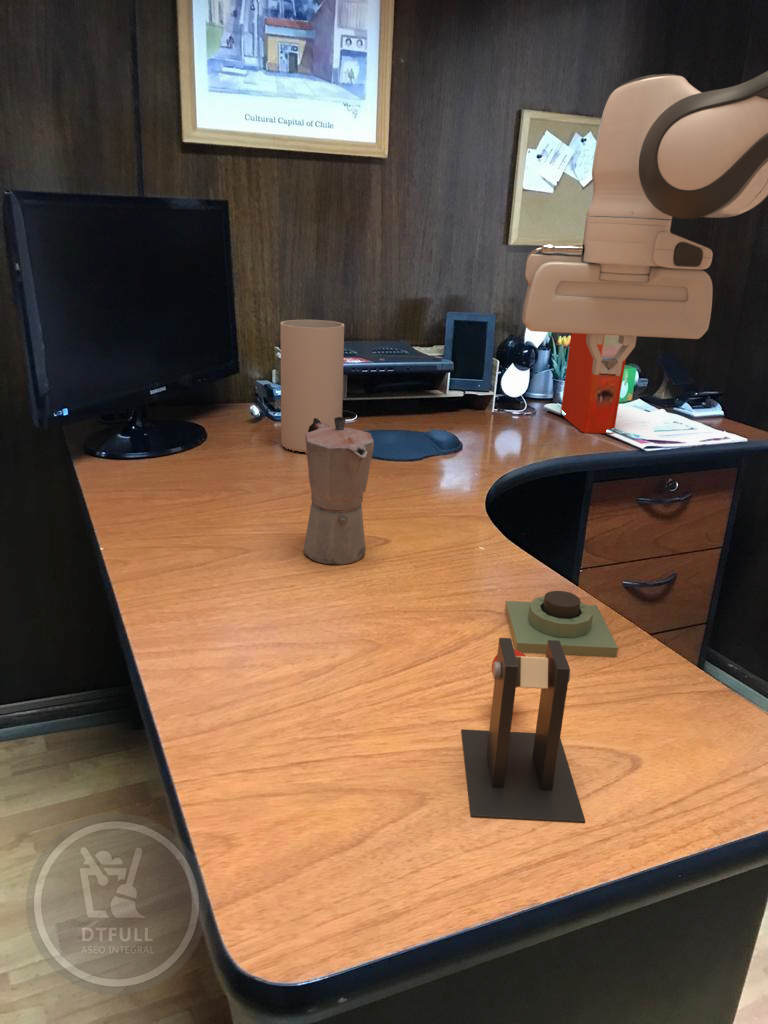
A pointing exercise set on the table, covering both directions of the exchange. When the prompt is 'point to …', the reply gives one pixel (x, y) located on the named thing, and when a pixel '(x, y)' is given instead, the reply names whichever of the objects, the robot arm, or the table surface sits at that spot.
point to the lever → (530, 671)
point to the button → (561, 604)
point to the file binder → (591, 386)
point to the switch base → (522, 750)
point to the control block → (559, 630)
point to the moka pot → (337, 491)
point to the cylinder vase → (310, 377)
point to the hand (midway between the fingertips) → (605, 374)
